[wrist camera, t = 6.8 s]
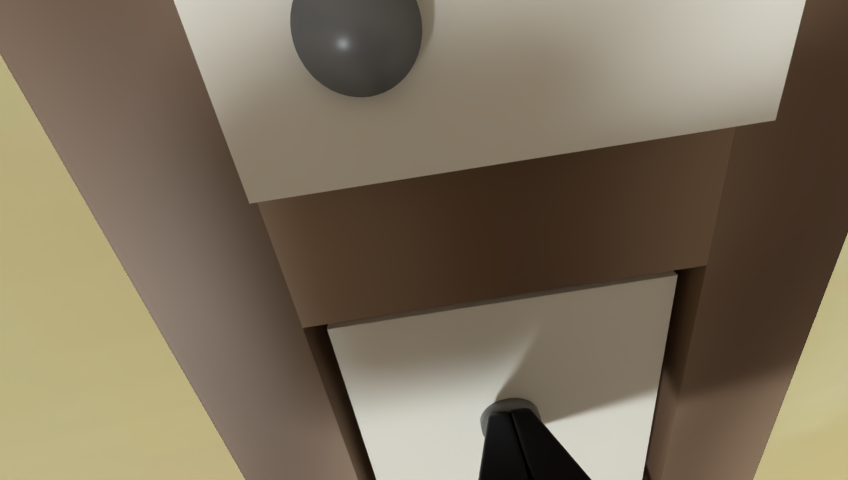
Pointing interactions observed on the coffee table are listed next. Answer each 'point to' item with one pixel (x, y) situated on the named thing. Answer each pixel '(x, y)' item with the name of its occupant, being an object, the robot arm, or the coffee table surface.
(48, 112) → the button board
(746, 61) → the two dot tile
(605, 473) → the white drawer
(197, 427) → the coffee table surface
